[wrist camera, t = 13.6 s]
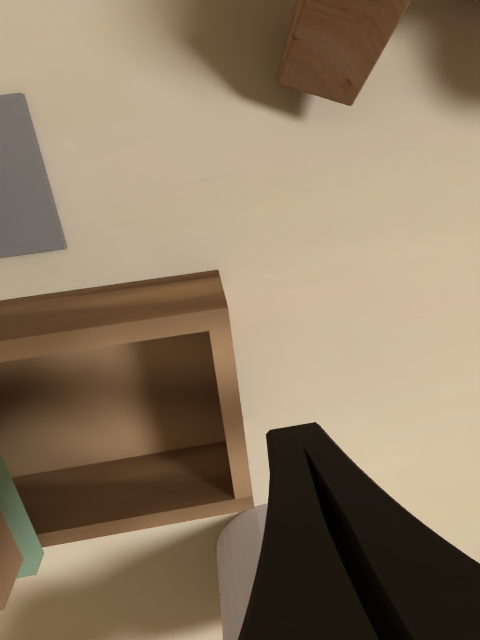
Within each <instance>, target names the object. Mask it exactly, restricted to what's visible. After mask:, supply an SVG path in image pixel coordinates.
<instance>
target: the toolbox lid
mask: <svg viewBox="0 0 480 640" xmlns="http://www.w3.org/2000/svg"><path fill="white" fill-rule="evenodd" d="M43 555H44V551H43V549H42V547H41V544H40V542H39V540H38V538H37V535H36V533H35V531H34V528H33V526H32V524H31V522H30V519H29V517H28V515H27V512H26V510H25V508H24V505H23V503H22V501H21V499H20V496H19V494H18V492H17V489H16V487H15V485H14V483H13V480H12V478H11V476H10V473H9V471H8V469H7V466H6V464H5V462H4V460H3V457H2V455H1V453H0V611H2V610H4V608H5V605H6V603H7V600H8V598H9V595H10V593H11V590H12V588H13V585H14V583H15V580H16V578H21V577H26V576H32V575H36V574H37V572H38V569H39V566H40V563H41V560H42V557H43Z"/></svg>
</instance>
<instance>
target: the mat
mask: <svg viewBox="0 0 480 640" xmlns="http://www.w3.org/2000/svg"><path fill="white" fill-rule="evenodd" d="M66 248H67V245H66V241H65V238H64V234H63V231H62V227H61V223H60V220H59V216H58V213H57V209H56V206H55V202H54V199H53V195H52V192H51V188H50V184H49V181H48V177H47V174H46V170H45V167H44V163H43V160H42V156H41V153H40V149H39V145H38V142H37V138H36V135H35V131H34V128H33V124H32V121H31V117H30V113H29V110H28V106H27V103H26V99H25V96H24V94H22V93H16V94H7V95H0V258H3V257H10V256H17V255H25V254H32V253H40V252H47V251H55V250H62V249H66Z"/></svg>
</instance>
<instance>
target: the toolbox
mask: <svg viewBox="0 0 480 640" xmlns="http://www.w3.org/2000/svg"><path fill="white" fill-rule="evenodd" d="M0 453H1V455H2V457H3V460H4V462H5V464H6V466H7V469H8V471H9V473H10V476H11V478H12V480H13V483H14V485H15V487H16V489H17V492H18V494H19V496H20V499H21V501H22V503H23V505H24V508H25V510H26V512H27V515H28V517H29V519H30V522H31V524H32V526H33V528H34V531H35V533H36V535H37V538H38V540H39V542H40V544H41V547H47V546H53V545H58V544H64V543H69V542H75V541H80V540H86V539H91V538H97V537H102V536H108V535H113V534H119V533H124V532H130V531H135V530H141V529H147V528H152V527H158V526H163V525H169V524H174V523H180V522H185V521H191V520H196V519H202V518H207V517H213V516H218V515H224V514H229V513H235V512H240V511H246V510H251V509H254V502H253V495H252V487H251V480H250V472H249V464H248V457H247V449H246V441H245V434H244V426H243V419H242V411H241V403H240V396H239V388H238V381H237V373H236V365H235V358H234V350H233V342H232V335H231V327H230V320H229V312H228V306H227V302H226V298H225V294H224V291H223V287H222V283H221V279H220V275H219V271H218V270H214V271H207V272H200V273H193V274H186V275H179V276H172V277H165V278H158V279H151V280H143V281H136V282H129V283H122V284H115V285H108V286H101V287H94V288H87V289H80V290H72V291H65V292H58V293H51V294H44V295H37V296H30V297H23V298H16V299H9V300H1V301H0Z"/></svg>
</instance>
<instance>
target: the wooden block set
mask: <svg viewBox="0 0 480 640" xmlns="http://www.w3.org/2000/svg"><path fill="white" fill-rule="evenodd" d="M410 2H411V0H297V4H296V8H295V12H294V16H293V20H292V24H291V28H290V32H289V36H288V40H287V44H286V48H285V52H284V55H283V59H282V63H281V67H280V71H279V75H278V84H279V85H283V86H286V87H289V88H293V89H296V90H299V91H303V92H306V93H309V94H312V95H316V96H319V97H322V98H326V99H329V100H332V101H336V102H339V103H342V104H345V105H349V106H351V105H352V104H353V103H354V101H355V99H356V97H357V96H358V94H359V92H360V90H361V89H362V87H363V85H364V83H365V81H366V80H367V78H368V76H369V74H370V73H371V71H372V69H373V67H374V66H375V64H376V62H377V60H378V58H379V57H380V55H381V53H382V51H383V50H384V48H385V46H386V44H387V43H388V41H389V39H390V37H391V35H392V34H393V32H394V30H395V28H396V27H397V25H398V23H399V21H400V20H401V18H402V16H403V14H404V12H405V11H406V9H407V7H408V5H409V4H410Z"/></svg>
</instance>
